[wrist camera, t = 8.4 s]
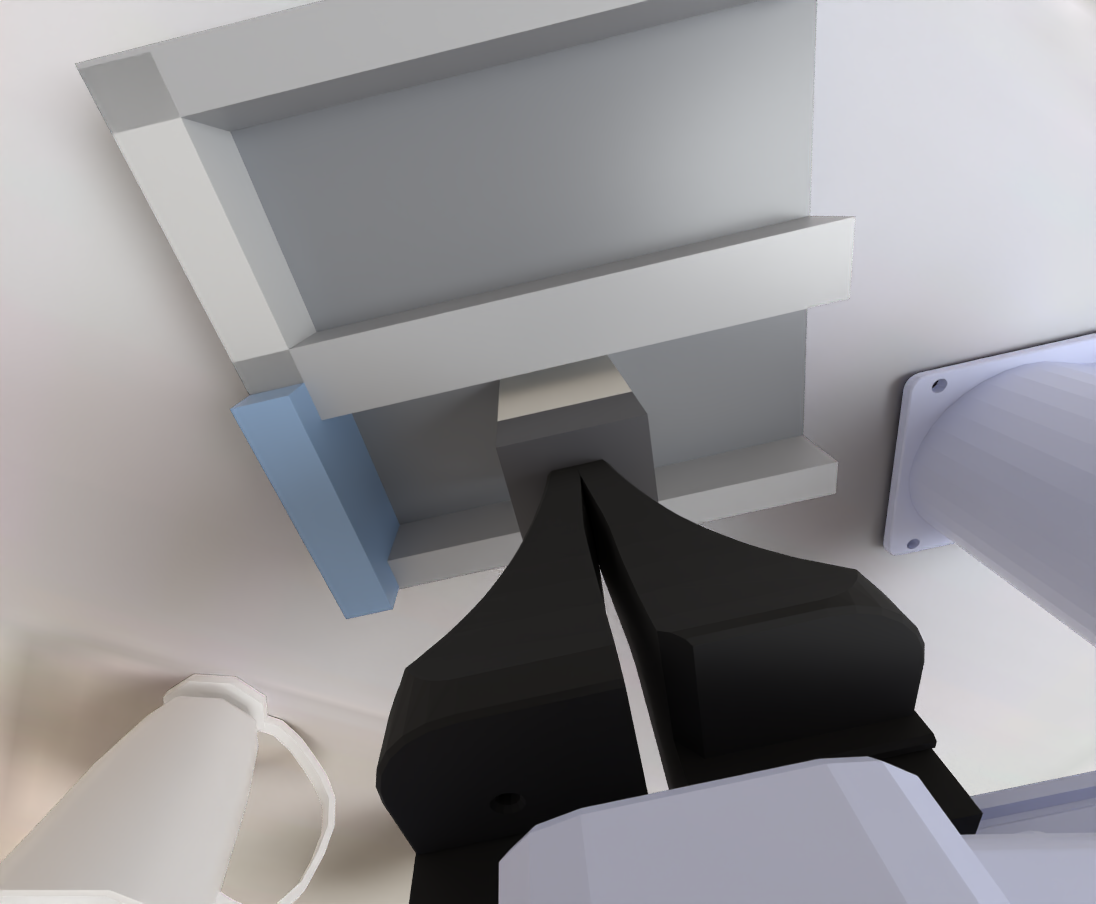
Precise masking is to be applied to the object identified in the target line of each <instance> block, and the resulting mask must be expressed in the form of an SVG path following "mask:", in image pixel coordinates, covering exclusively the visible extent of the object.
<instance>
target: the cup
mask: <svg viewBox="0 0 1096 904" xmlns="http://www.w3.org/2000/svg"><path fill="white" fill-rule="evenodd" d="M163 702H164V705H163V706H161V707H160V708H158V709H157V710H155V711H153V712H152V713H150V714H149V715H147V716H146V717H145V718H144V719H143V720H142V721H141V722H140V723H138V724H137V725H136V726H135V727H134V728H133V729H132V730H131V731H130V732H128V733H127V734H126V735H125V736H124V737H123V738H122V739H121V740H120V741H119V742H117V743H116V744H115V745H114V746H113V747H112V748H111V749H110V750H109V751H108V752H106V753H105V754H104V755H103V756H102V757H101V758H100V759H99V760H98V761H97V762H95V763H94V765H93V766H92V767H91V768H90V769H89V770H88V771H87V772H86V773H85V774H84V775H83V776H82V777H81V778H80V779H79V781H78V782H77V783H76V784H75V785H74V786H73V787H72V788H71V789H70V790H69V791H68V792H67V793H66V794H65V795H64V797H63V798H62V799H61V800H60V801H59V802H58V803H57V804H56V805H55V806H54V807H53V808H52V809H51V810H50V812H49V813H48V814H47V815H46V816H45V817H44V818H43V819H42V820H41V821H40V822H39V823H38V824H37V825H36V826H35V828H34V829H33V830H32V831H31V832H30V833H29V834H28V835H27V836H26V837H25V838H24V839H23V840H22V841H21V842H20V843H19V844H18V845H17V846H16V847H15V848H14V849H13V850H12V851H11V852H10V853H9V854H8V855H7V857H6V858H5V859H4V860H3V861H2V862H1V863H0V904H242V903H240V902H237V901H235V900H233V899H231V898H230V897H228V896H227V895H225V894H224V893H222V892H221V889H222V886H223V882H224V879H225V875H226V872H227V868H228V865H229V861H230V858H231V855H232V852H233V848H234V845H235V842H236V838H237V835H238V832H239V828H240V825H241V822H242V819H243V815H244V812H245V809H246V805H247V802H248V798H249V793H250V788H251V782H252V777H253V772H254V767H255V762H256V757H257V751H258V737H257V732H263V733H267V734H270V735H273V736H274V737H275V738H276V739H277V740H278V741H280V742H281V743H282V744H283V745H284V746H285V747H286V748H287V749H288V750H289V751H290V752H291V753H292V755H293V756H294V758H295V759H296V760H297V762H298V763H299V765H300V766H301V768H302V769H303V770H304V772H305V774H306V775H307V777H308V778H309V780H310V782H311V783H312V785H313V786H314V789H315V791H316V794H317V796H318V798H319V801H320V803H321V806H322V827H321V836H320V838H319V841H318V844H317V846H316V849H315V851H314V854H313V856H312V859H311V861H310V863H309V865H308V867H307V868H306V870H305V872H304V874H303V876H302V877H301V879H300V881H299V883H298V885H297V886H296V887H295V888H293V889H292V890H291V891H290V892H289V893H288V894H287V895H286V896H284V897H283V898H282V899H281V900H280V901H279V902H278V903H277V904H293V903H294V902H295V901H296V900H297V899H298V898H299V897H300V896H301V894H302V893H303V892H304V891H305V889H306V887H307V886H308V884H309V882H310V880H311V878H312V876H313V875H314V873H315V871H316V869H317V867H318V866H319V864H320V862H321V860H322V858H323V856H324V854H325V851H326V849H327V846H328V843H329V840H330V838H331V835H332V832H333V829H334V827H335V803H336V798H335V795H334V792H333V789H332V787H331V784H330V781H329V778H328V776H327V774H326V772H325V771H324V769H323V768H322V766H321V765H320V763H319V761H318V760H317V758H316V757H315V756H314V754H313V753H312V751H311V750H310V749H309V747H308V746H307V745H306V743H305V742H304V741H303V739H302V738H301V737H300V736H299V735H298V734H297V733H296V732H295V731H294V730H293V729H292V728H290V727H289V726H288V725H287V724H286V723H285V722H284V721H283V720H280V719H277V718H274V717H271V716H269V715H268V713H267V701H266V696H265V695H263V694H262V693H260V692H259V691H257V690H256V689H254V688H253V687H251V686H249V685H248V684H246V683H245V682H243V681H242V680H240V679H239V678H237V677H236V676H220V675H204V674H193V675H192V676H190V677H188V678H187V679H185V680H184V681H182V682H181V683H179V684H178V685H176V686H174V687H173V688H171V689H170V690H168V691H167V693H166V694H165V696H164V697H163Z"/></svg>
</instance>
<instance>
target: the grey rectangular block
mask: <svg viewBox="0 0 1096 904" xmlns="http://www.w3.org/2000/svg"><path fill="white" fill-rule="evenodd" d="M496 450H497V454H498V457H499V461H500V464H501V468H502V471H503V474H504V478H505V481H506V485H507V488H508V492H509V495H510V499H511V502H512V505H513V509H514V512H515V516H516V519H517V523H518V526H519V530H520V533H521V537H522V540H523V539H524V537H525V535H526V533H527V531H528V529H529V527H530V525H531V523H532V521H533V519H534V517H535V514H536V512H537V509H538V506H539V504H540V501H541V499H542V496H543V493H544V489H545V486H546V482H547V476H548V475H549V473H550V472H551V471H554V470H558V469H563V468H567V467H572V466H576V465H581V464H585V463H589V462H593V461H598V460H602V459H603V460H604V461H606V462H608V463H609V464H610V465H611V466H612V467H613V468H614V469H615V470H616V471H617V472H618V473H620V474H621V475H622V476H623V477H624V478H625V479H627V480H628V481H629V482H630V483H632V484H633V485H634V486H636V487H637V488H638V489H640V490H641V491H642V492H644V493H645V494H646V495H648V496H649V497H651V498H652V499H653V500H655V501H656V502H658V494H657V486H656V478H655V470H654V462H653V454H652V446H651V438H650V429H649V421H648V414H647V413H646V411H645V410H644V408H643V407H642V405H641V404H640V402H639V401H638V399H637V398H636V396H635V395H634V394H633V392H632V391H631V389H630V388H629V386H628V385H627V383H626V382H625V380H624V379H623V377H622V376H621V374H620V373H619V371H618V370H617V369H616V367H615V366H614V364H613V363H612V361H611V360H610V358H609V357H608V355H603V356H599V357H595V358H590V359H586V360H582V361H577V362H573V363H569V364H564V365H560V366H556V367H551V368H547V369H543V370H538V371H534V372H529V373H525V374H521V375H516V376H512V377H508V378H503V379H500V385H499V402H498V419H497V436H496ZM658 503H659V502H658Z"/></svg>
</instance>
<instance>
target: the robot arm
mask: <svg viewBox="0 0 1096 904" xmlns="http://www.w3.org/2000/svg"><path fill="white" fill-rule="evenodd" d="M937 380H938V382H937V385H936V386H935V387H934V388H932V386H933V384H934V383H935V382H936V381H937ZM953 543H955V544H957V545H958V546H959V547H961V548H962V549H963V550H965V551H966V552H968V553H969V554H970V555H972V556H973V557H974V558H976V559H977V560H978V561H980V562H981V563H982V564H984V565H985V566H986V567H988V568H989V569H990V570H992V571H993V572H995V573H996V574H997V575H999V576H1000V577H1001V578H1003V579H1004V580H1005V581H1007V582H1008V583H1009V584H1011V585H1012V586H1013V587H1015V588H1016V589H1018V590H1019V591H1020V592H1022V593H1023V594H1024V595H1026V596H1027V597H1028V598H1030V599H1031V600H1032V601H1034V602H1035V603H1036V604H1038V605H1039V606H1041V607H1042V608H1043V609H1045V610H1046V611H1047V612H1049V613H1050V614H1051V615H1053V616H1054V617H1055V618H1057V619H1058V620H1059V621H1061V622H1062V623H1063V624H1065V625H1066V626H1068V627H1069V628H1070V629H1072V630H1073V631H1074V632H1076V633H1077V634H1078V635H1080V636H1081V637H1082V638H1084V639H1085V640H1086V641H1088V642H1089V643H1091V644H1092V645H1093V646H1095V647H1096V333H1094V334H1089V335H1085V336H1080V337H1076V338H1071V339H1067V340H1063V341H1058V342H1054V343H1049V344H1045V345H1040V346H1036V347H1031V348H1027V349H1023V350H1018V351H1014V352H1009V353H1005V354H1000V355H996V356H991V357H987V358H982V359H978V360H974V361H969V362H965V363H960V364H956V365H951V366H947V367H942V368H938V369H934V370H929V371H925V372H920V373H917V374H915V375H913V376H912V377H911V378H909V379H908V381H907V382H906V384H905V386H904V390H903V397H902V405H901V412H900V420H899V428H898V435H897V443H896V451H895V458H894V466H893V473H892V481H891V489H890V496H889V504H888V512H887V519H886V527H885V534H884V542H883V546H884V548H885V549H886V550H887V551H888V552H889V553H890V554H892V555H902V554H907V553H911V552H916V551H921V550H925V549H930V548H935V547H939V546H944V545H949V544H953ZM599 566H600V567H599ZM600 570H601V572H602V575H603V578H604V580H605V583H606V586H607V588H608V591H609V594H610V596H611V599H612V601H613V604H614V607H615V609H616V612H617V615H618V617H619V620H620V623H621V625H622V628H623V630H624V633H625V636H626V638H627V641H628V644H629V646H630V649H631V652H632V656H633V659H634V662H635V665H636V668H637V672H638V676H639V679H640V683H641V687H642V690H643V694H644V698H645V702H646V705H647V709H648V713H649V716H650V720H651V724H652V727H653V731H654V735H655V739H656V742H657V746H658V750H659V754H660V757H661V761H662V765H663V769H664V772H665V776H666V780H667V784H668V788H669V790H666V791H662V792H657V793H652V794H648V792H647V787H646V782H645V777H644V773H643V768H642V763H641V758H640V754H639V749H638V744H637V739H636V734H635V730H634V725H633V720H632V715H631V711H630V706H629V701H628V696H627V692H626V687H625V683H624V678H623V674H622V670H621V666H620V662H619V658H618V654H617V650H616V647H615V643H614V639H613V636H612V632H611V629H610V625H609V622H608V618H607V615H606V610H605V603H604V596H603V589H602V581H601V574H600ZM924 646H925V644H924V641H923V639H922V637H921V635H920V633H919V630H918V628H917V627H916V626H915V625H914V624H913V623H912V622H911V621H910V620H909V619H908V618H907V617H906V616H905V615H904V614H903V613H902V612H901V611H900V610H899V609H898V608H897V606H896V605H895V604H894V603H893V602H892V601H891V600H890V599H889V598H888V597H887V596H886V595H885V594H884V593H883V592H882V591H880V590H879V589H878V588H877V587H876V586H875V585H873V584H872V583H871V582H870V581H869V580H868V579H866V578H865V577H864V576H863V575H862V574H861V573H859V572H858V571H857V570H855V569H850V568H845V567H840V566H835V565H830V564H825V563H820V562H814V561H809V560H804V559H799V558H795V557H791V556H787V555H784V554H780V553H776V552H772V551H769V550H765V549H762V548H758V547H755V546H752V545H749V544H746V543H743V542H740V541H737V540H735V539H732V538H729V537H727V536H724V535H721V534H719V533H716V532H714V531H711V530H709V529H706V528H704V527H702V526H700V525H698V524H696V523H694V522H692V521H690V520H688V519H686V518H683V517H681V516H679V515H678V514H676V513H674V512H672V511H671V510H669V509H667V508H666V507H664V506H663V505H661V504H659V503H658V502H656V501H655V500H653V499H652V498H651V497H649V496H648V495H646V494H645V493H644V492H642V491H641V490H640V489H638V488H637V487H636V486H634V485H633V484H632V483H630V482H629V481H628V480H627V479H625V478H624V477H623V476H622V475H621V474H620V473H618V472H617V471H616V470H615V469H614V468H613V467H612V466H611V465H610V464H609V463H608V462H606V461H604V460H603V459H602V460H598V461H593V462H589V463H585V464H581V465H576V466H572V467H567V468H563V469H558V470H554V471H551V472H550V473H549V475H548V476H547V482H546V486H545V489H544V493H543V496H542V499H541V501H540V504H539V506H538V509H537V512H536V514H535V517H534V519H533V521H532V523H531V525H530V527H529V529H528V531H527V533H526V535H525V537H524V539H523V541H522V543H521V545H520V547H519V548H518V550H517V552H516V553H515V555H514V557H513V558H512V560H511V561H510V563H509V564H508V566H507V567H506V569H505V570H504V572H503V573H502V575H501V576H500V577H499V579H498V580H497V581H496V583H495V584H494V585H493V586H492V588H491V589H490V590H489V591H488V593H487V594H486V595H485V596H484V597H483V599H482V600H481V601H480V602H479V603H478V604H477V605H476V606H475V607H474V608H473V609H472V610H471V611H470V612H469V613H468V614H467V615H466V616H465V617H464V618H463V619H462V620H461V621H460V622H459V623H458V624H457V625H456V626H455V627H454V628H453V629H452V630H451V631H450V632H449V633H448V634H447V635H445V636H444V637H443V638H442V639H441V640H439V641H438V642H437V643H436V644H435V645H433V646H432V647H431V648H430V649H429V650H427V651H426V652H425V653H424V654H423V655H422V656H420V657H419V658H418V659H417V660H416V661H414V662H413V663H412V664H410V665H409V666H408V667H406V669H405V671H404V674H403V677H402V680H401V683H400V686H399V688H398V691H397V693H396V696H395V699H394V702H393V705H392V708H391V711H390V715H389V718H388V723H387V727H386V731H385V736H384V740H383V744H382V749H381V753H380V757H379V762H378V766H377V773H376V788H377V791H378V793H379V796H380V798H381V800H382V803H383V804H384V806H385V807H386V809H387V810H388V812H389V813H390V815H391V816H392V818H393V819H394V821H395V822H396V824H397V825H398V827H399V828H400V830H401V831H402V833H403V834H404V836H405V837H406V839H407V840H408V842H409V843H410V845H411V846H412V848H413V849H414V851H415V852H416V857H415V864H414V871H413V878H412V885H411V892H410V900H409V904H1096V771H1092V772H1087V773H1082V774H1077V775H1072V776H1067V777H1062V778H1058V779H1053V780H1048V781H1043V782H1038V783H1033V784H1028V785H1023V786H1018V787H1014V788H1009V789H1004V790H999V791H994V792H989V793H984V794H979V795H974V796H969V795H968V794H967V792H966V791H965V790H964V788H963V787H962V786H961V785H960V783H959V782H958V781H957V780H956V778H955V777H954V776H953V775H952V773H951V772H950V771H949V770H948V768H947V767H946V766H945V765H944V763H943V762H942V761H941V760H940V758H939V757H938V756H937V755H936V753H935V752H934V751H933V749H932V748H935V746H936V742H937V741H936V739H935V736H934V734H933V732H932V731H931V730H930V729H929V728H928V726H927V725H926V724H925V723H924V721H923V720H922V719H921V718H920V717H919V715H918V714H917V713H916V712H915V710H914V708H915V703H916V699H917V694H918V689H919V684H920V680H921V675H922V670H923V665H924Z"/></svg>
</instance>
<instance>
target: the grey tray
mask: <svg viewBox="0 0 1096 904" xmlns="http://www.w3.org/2000/svg"><path fill="white" fill-rule="evenodd" d="M816 14H817V0H322V1H318V2H315V3H311V4H307V5H303V6H299V7H295V8H291V9H287V10H283V11H279V12H275V13H271V14H267V15H264V16H260V17H256V18H252V19H248V20H244V21H240V22H236V23H232V24H228V25H224V26H220V27H217V28H213V29H209V30H205V31H201V32H197V33H193V34H189V35H185V36H181V37H177V38H173V39H169V40H166V41H162V42H158V43H154V44H150V45H146V46H142V47H138V48H134V49H130V50H126V51H122V52H118V53H115V54H111V55H107V56H103V57H99V58H95V59H91V60H87V61H83V62H79V63H75V65H76V67H77V69H78V71H79V73H80V75H81V77H82V79H83V80H84V82H85V84H86V86H87V88H88V90H89V92H90V94H91V96H92V97H93V99H94V101H95V103H96V105H97V107H98V109H99V111H100V113H101V115H102V116H103V118H104V120H105V122H106V124H107V126H108V128H109V130H110V132H111V134H112V135H113V137H114V139H115V141H116V143H117V145H118V147H119V149H120V151H121V153H122V154H123V156H124V158H125V160H126V162H127V164H128V166H129V168H130V170H131V172H132V173H133V175H134V177H135V179H136V181H137V183H138V185H139V187H140V189H141V191H142V192H143V194H144V196H145V198H146V200H147V202H148V204H149V206H150V208H151V210H152V211H153V213H154V215H155V217H156V219H157V221H158V223H159V225H160V227H161V229H162V230H163V232H164V234H165V236H166V238H167V240H168V242H169V244H170V246H171V247H172V249H173V251H174V253H175V255H176V257H177V259H178V261H179V263H180V265H181V266H182V268H183V270H184V272H185V274H186V276H187V278H188V280H189V282H190V284H191V285H192V287H193V289H194V291H195V293H196V295H197V297H198V299H199V301H200V303H201V304H202V306H203V308H204V310H205V312H206V314H207V316H208V318H209V320H210V322H211V323H212V325H213V327H214V329H215V331H216V333H217V335H218V337H219V339H220V341H221V342H222V344H223V346H224V348H225V350H226V352H227V354H228V356H229V358H230V360H231V361H232V363H233V365H234V367H235V369H236V371H237V373H238V375H239V377H240V378H241V380H242V382H243V384H244V386H245V388H246V390H247V392H248V394H249V396H248V397H246V398H245V399H243V400H242V401H241V402H239V403H238V404H236V405H235V406H234V407H232V408H231V409H230V410H231V412H232V414H233V416H234V418H235V419H236V421H237V423H238V425H239V427H240V428H241V430H242V432H243V434H244V436H245V437H246V439H247V441H248V443H249V445H250V446H251V448H252V450H253V452H254V454H255V455H256V457H257V459H258V461H259V463H260V465H261V466H262V468H263V470H264V472H265V474H266V475H267V477H268V479H269V481H270V483H271V484H272V486H273V488H274V490H275V492H276V493H277V495H278V497H279V499H280V501H281V502H282V504H283V506H284V508H285V510H286V511H287V513H288V515H289V517H290V519H291V520H292V522H293V524H294V526H295V528H296V529H297V531H298V533H299V535H300V537H301V539H302V540H303V542H304V544H305V546H306V548H307V549H308V551H309V553H310V555H311V557H312V558H313V560H314V562H315V564H316V566H317V567H318V569H319V571H320V573H321V575H322V576H323V578H324V580H325V582H326V584H327V585H328V587H329V589H330V591H331V593H332V594H333V596H334V598H335V600H336V602H337V603H338V605H339V607H340V609H341V611H342V613H343V614H344V616H345V618H346V619H349V618H354V617H359V616H363V615H368V614H372V613H377V612H382V611H386V610H391V609H393V606H394V603H395V600H396V596H397V593H398V589H403V588H407V587H412V586H416V585H421V584H426V583H430V582H435V581H439V580H444V579H448V578H453V577H458V576H462V575H467V574H471V573H476V572H480V571H485V570H490V569H494V568H499V567H503V566H508V564H509V563H510V561H511V560H512V558H513V557H514V555H515V553H516V552H517V550H518V548H519V547H520V545H521V543H522V541H523V540H522V537H521V533H520V530H519V526H518V523H517V519H516V516H515V512H514V509H513V505H512V502H511V499H510V495H509V492H508V488H507V485H506V481H505V478H504V474H503V471H502V468H501V464H500V461H499V457H498V454H497V450H496V436H497V419H498V402H499V385H500V379H503V378H508V377H512V376H516V375H521V374H525V373H529V372H534V371H538V370H543V369H547V368H551V367H556V366H560V365H564V364H569V363H573V362H577V361H582V360H586V359H590V358H595V357H599V356H603V355H608V357H609V358H610V360H611V361H612V363H613V364H614V366H615V367H616V369H617V370H618V371H619V373H620V374H621V376H622V377H623V379H624V380H625V382H626V383H627V385H628V386H629V388H630V389H631V391H632V392H633V394H634V395H635V396H636V398H637V399H638V401H639V402H640V404H641V405H642V407H643V408H644V410H645V411H646V413H647V414H648V421H649V429H650V438H651V446H652V454H653V462H654V470H655V478H656V486H657V494H658V502H659V504H661V505H663V506H664V507H666V508H667V509H669V510H671V511H672V512H674V513H676V514H678V515H679V516H681V517H683V518H686V519H688V520H690V521H692V522H694V523H696V524H700V523H704V522H709V521H714V520H718V519H723V518H727V517H732V516H736V515H741V514H746V513H750V512H755V511H759V510H764V509H768V508H773V507H778V506H782V505H787V504H791V503H796V502H800V501H805V500H810V499H814V498H819V497H823V496H828V495H832V494H836V485H837V471H838V461H837V460H835V459H834V458H833V457H831V456H830V455H829V454H827V453H826V452H825V451H823V450H822V449H821V448H819V447H818V446H817V445H815V444H814V443H813V442H811V441H810V440H809V439H807V438H806V437H805V436H803V420H804V389H805V358H806V326H807V309H808V308H812V307H817V306H821V305H825V304H830V303H834V302H838V301H843V300H847V299H850V288H851V273H852V259H853V245H854V231H855V217H852V216H810V202H811V170H812V139H813V108H814V77H815V45H816Z"/></svg>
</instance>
